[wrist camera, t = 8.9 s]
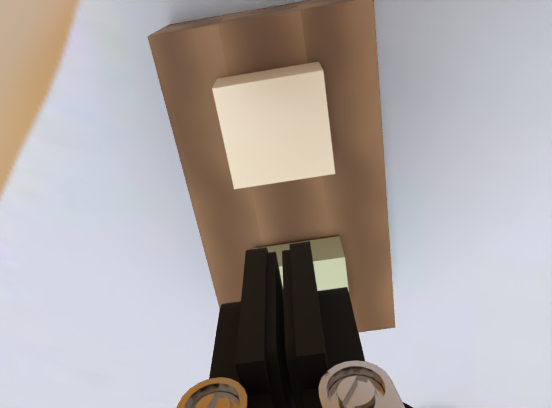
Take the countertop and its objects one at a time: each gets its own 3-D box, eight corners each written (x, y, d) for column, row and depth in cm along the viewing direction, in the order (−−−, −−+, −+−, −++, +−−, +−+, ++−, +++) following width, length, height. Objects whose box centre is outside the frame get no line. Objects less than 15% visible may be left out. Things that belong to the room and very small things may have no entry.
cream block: (312, 49, 30) (323, 70, 24) (322, 134, 32) (335, 173, 26) (224, 63, 30) (212, 88, 24) (240, 147, 33) (234, 189, 26)
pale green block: (331, 205, 35) (344, 257, 28) (339, 269, 37) (353, 330, 31) (255, 216, 35) (251, 270, 29) (267, 279, 38) (267, 341, 31)
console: (354, -8, 30) (373, -3, 25) (378, 278, 40) (395, 327, 34) (168, 24, 31) (147, 36, 26) (235, 298, 40) (230, 349, 35)
